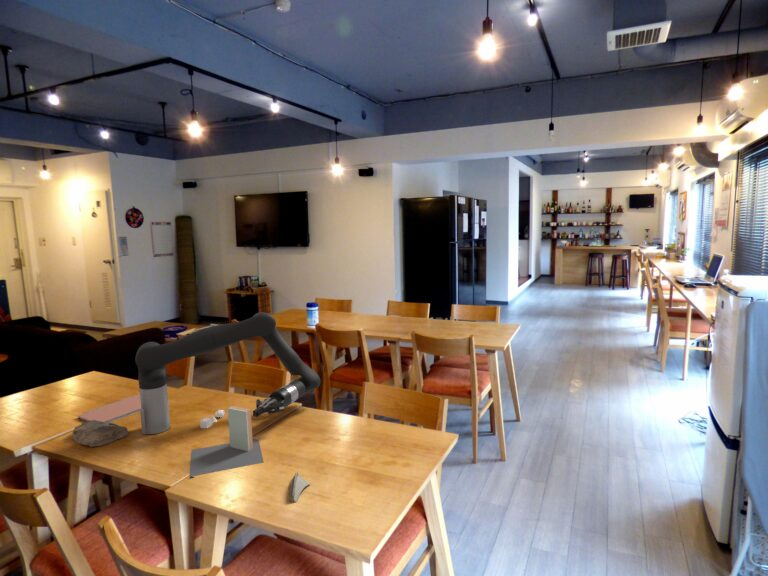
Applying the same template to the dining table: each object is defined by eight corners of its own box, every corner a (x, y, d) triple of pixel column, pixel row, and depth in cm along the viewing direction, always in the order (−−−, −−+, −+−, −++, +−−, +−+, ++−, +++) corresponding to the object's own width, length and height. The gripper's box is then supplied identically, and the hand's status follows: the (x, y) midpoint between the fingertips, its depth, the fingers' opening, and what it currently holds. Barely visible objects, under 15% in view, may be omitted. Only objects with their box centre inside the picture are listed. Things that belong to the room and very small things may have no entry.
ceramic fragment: (294, 476, 139) (294, 464, 139) (311, 475, 140) (311, 463, 139) (289, 505, 126) (288, 492, 125) (308, 503, 126) (307, 491, 125)
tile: (248, 451, 153) (246, 411, 151) (230, 446, 157) (227, 408, 155) (253, 448, 155) (250, 409, 153) (234, 444, 159) (232, 405, 157)
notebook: (141, 396, 207) (140, 392, 207) (163, 403, 199) (163, 399, 198) (76, 419, 184) (75, 414, 184) (98, 428, 176) (98, 423, 175)
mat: (189, 478, 138) (189, 476, 138) (191, 451, 155) (191, 449, 155) (263, 464, 146) (263, 462, 146) (258, 439, 163) (258, 438, 163)
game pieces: (207, 429, 172) (206, 421, 172) (200, 428, 173) (199, 420, 173) (226, 416, 184) (225, 408, 183) (219, 415, 185) (218, 408, 184)
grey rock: (63, 438, 168) (89, 451, 157) (62, 425, 167) (88, 437, 156) (104, 424, 179) (130, 436, 168) (103, 412, 179) (129, 423, 168)
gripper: (269, 385, 179) (239, 401, 163) (297, 389, 173) (268, 406, 158) (271, 403, 180) (240, 421, 164) (299, 408, 175) (270, 427, 159)
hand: (254, 414), depth 161 cm, fingers closed
